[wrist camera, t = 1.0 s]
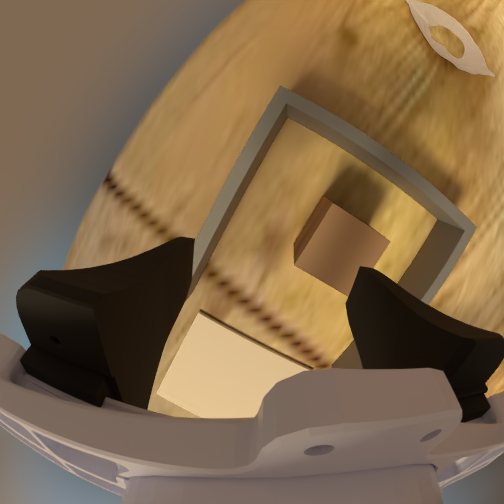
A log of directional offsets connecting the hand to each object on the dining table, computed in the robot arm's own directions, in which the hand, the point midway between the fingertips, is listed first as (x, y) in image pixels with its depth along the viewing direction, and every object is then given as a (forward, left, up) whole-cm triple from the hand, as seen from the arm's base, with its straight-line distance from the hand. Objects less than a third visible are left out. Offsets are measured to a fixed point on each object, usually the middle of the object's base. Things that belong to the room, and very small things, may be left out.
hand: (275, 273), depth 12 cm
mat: (-4, +20, -13) cm, 25 cm away
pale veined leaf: (-5, -27, -14) cm, 31 cm away
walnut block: (-4, -1, -13) cm, 14 cm away
